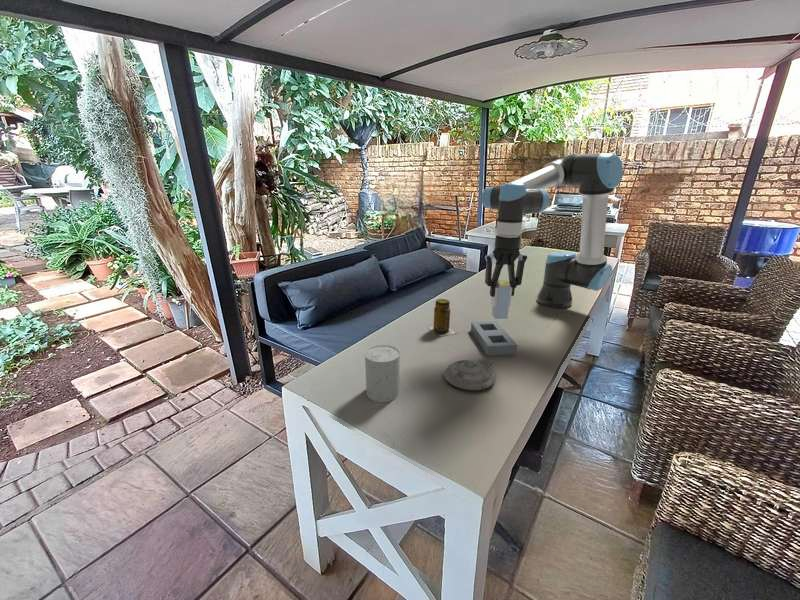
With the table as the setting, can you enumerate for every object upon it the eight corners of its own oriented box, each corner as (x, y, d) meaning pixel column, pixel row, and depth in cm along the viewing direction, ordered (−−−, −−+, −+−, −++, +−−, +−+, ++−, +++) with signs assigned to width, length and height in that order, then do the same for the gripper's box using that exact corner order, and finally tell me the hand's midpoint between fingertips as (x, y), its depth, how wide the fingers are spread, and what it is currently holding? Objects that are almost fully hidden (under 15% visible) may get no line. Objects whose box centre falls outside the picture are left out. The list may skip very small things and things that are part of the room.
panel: (495, 329, 143) (496, 321, 141) (516, 354, 124) (517, 345, 123) (470, 330, 142) (471, 322, 141) (487, 355, 123) (488, 346, 122)
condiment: (444, 325, 147) (445, 296, 143) (456, 333, 140) (458, 303, 135) (428, 328, 144) (429, 299, 140) (439, 337, 137) (441, 307, 132)
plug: (503, 314, 126) (506, 280, 122) (507, 318, 122) (511, 283, 118) (491, 314, 126) (495, 280, 121) (495, 319, 122) (499, 283, 118)
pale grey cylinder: (366, 383, 108) (364, 345, 104) (398, 381, 109) (398, 344, 104) (366, 402, 99) (364, 362, 95) (401, 401, 100) (401, 361, 96)
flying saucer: (461, 399, 101) (462, 382, 99) (434, 372, 114) (435, 357, 112) (505, 387, 106) (507, 370, 105) (475, 362, 119) (476, 347, 117)
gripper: (529, 232, 119) (520, 300, 127) (477, 233, 117) (472, 302, 125) (539, 237, 112) (530, 308, 120) (485, 237, 110) (479, 310, 118)
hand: (500, 305), depth 122 cm, fingers closed on plug, 4 cm apart
